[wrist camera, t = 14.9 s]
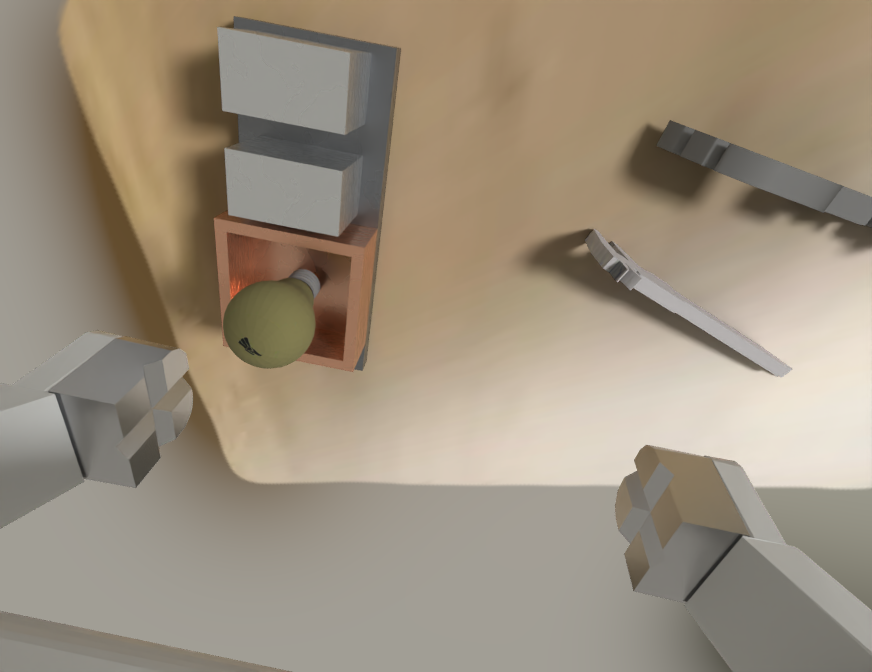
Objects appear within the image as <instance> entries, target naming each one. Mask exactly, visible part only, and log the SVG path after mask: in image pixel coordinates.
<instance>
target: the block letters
mask: <svg viewBox="0 0 872 672" xmlns="http://www.w3.org/2000/svg"><path fill="white" fill-rule="evenodd" d="M656 146H658V147H661V148H663V149H665V150H667V151H670V152H672V153H675V154H677V155H680V156H681V157H684V158H686V159H688V160H691V161H693V162H695V163H698V164H700V165H702V166H705V167H708V168H710V169H713V170H714V171H717V172H719V173H722V174H724V175H726V176H729V177H731V178H734V179H736V180H739V181H741V182H744V183H747V184H749V185H752V186H754V187H757V188H760V189H762V190H765V191H768V192H770V193H773V194H776V195H778V196H781V197H784V198H786V199H789V200H792V201H794V202H797V203H800V204H802V205H805V206H808V207H810V208H813V209H815V210H818V211H820V212H823V213H824V212H827V213H830V214H833V215H835V216H838V217H841V218H843V219H846V220H849V221H851V222H854V223H856V224H859V225H866V226H869V227H871V228H872V197H870V196H868V195H865V194H862V193H860V192H857V191H854V190H852V189H849V188H847V187H844V186H842V185H839V184H836V183H834V182H831V181H828V180H826V179H823V178H821V177H818V176H815V175H813V174H810V173H807V172H805V171H802V170H800V169H797V168H794V167H792V166H789V165H787V164H784V163H781V162H779V161H776V160H773V159H771V158H768V157H766V156H763V155H760V154H758V153H755V152H752V151H750V150H747V149H745V148H742V147H739V146H737V145H734V144H731V143H729V142H726V141H723V140H721V139H718V138H716V137H713V136H710V135H708V134H705V133H702V132H700V131H697V130H694V129H692V128H689V127H686V126H684V125H681V124H679V123H676V122H673V121H671V120H670V121H669V123H668V125H667V127H666V129H665V130H664V132H663V134H662V136H661V138H660V140H659V142H658V143H657V145H656Z"/></svg>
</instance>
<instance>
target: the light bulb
mask: <svg viewBox="0 0 872 672" xmlns="http://www.w3.org/2000/svg"><path fill="white" fill-rule="evenodd" d="M319 291H320V282H319V279H318V278H317V276H316V275H315V274H314V273H312V272H311V271H309V270H306V269H298V270H296V271H294V272H293V273H292V274H291V275H290V276H289V277H288V278H284V279H281V280H279V281H274V280H269V281H260V282H256V283H254V284H251V285H249V286H247V287H245V288H243V289H242V290H240V291H239V292H238V293H237V294H236V295H235V296H234V297H233V298H232V299H231V301H230V302H229V304H228V306H227V308H226V311H225V313H224V318H223V331H224V336H225V339H226V342H227V344H228V346H229V347H230V349H231V350H232V351H233V352H234V354H235V355H236V356H237V357H239V358H240V359H241V360H243V361H244V362H246V363H248V364H250V365H253V366H256V367H260V368H278V367H283V366H285V365H288V364H290V363H292V362H294V361H295V360H297V359H298V358H300V357H301V356H302V355H303V354H304V353H305V351H306V350H307V349H308V347H309V346H310V344H311V342H312V339H313V337H314V332H315V315H314V310H313V305H314V298H315V297H316V296H317V294H318V293H319Z"/></svg>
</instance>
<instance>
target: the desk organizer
mask: <svg viewBox="0 0 872 672" xmlns="http://www.w3.org/2000/svg"><path fill="white" fill-rule="evenodd" d="M217 29H218V46H219V63H220V80H221V97H222V111H226V112H231V113H236V114H238V130H239V143H237V144H235V145H232V146H229V147H226V148H224V149H225V166H226V183H227V200H228V210H227V211H225V212H223V213H221V214H220V215H218V216H216V217H215V218H214V227H215V241H216V254H217V267H218V281H219V294H220V308H221V321H222V334H223V346H226V347H229V346H228V344H227V342H226V339H225V336H224V331H223V318H224V313H225V311H226V308H227V306H228V304H229V302H230V301H231V299H232V298H233V297H234V296H235V295H236V294H237V293H238V292H239V291H240V290H242V289H243V288H245V287H247V286H249V285H251V284H254V283H256V282H260V281H269V280H274V281H279V280H281V279H284V278H288V277H289V276H290V275H291V274H292V273H293V272H294V271H296V270H298V269H306V270H309V271H311V272H312V273H314V274H315V275H316V276H317V278H318V279H319V282H320V291H319V293H318V294H317V296H316V297H315V298H314V305H313V310H314V315H315V332H314V337H313V339H312V342H311V344H310V346H309V347H308V349H307V350H306V351H305V353H304V354H303V355H302V356H301V357H300V358H298V359H297V360H296V361H301V362H306V363H311V364H316V365H321V366H326V367H331V368H336V369H341V370H346V371H351V372H353V371H354V369H356V370H361V371H362V370H363V368H364V366H365V363H366V360H367V351H368V342H369V333H370V324H371V315H372V306H373V297H374V288H375V279H376V270H377V261H378V252H379V243H380V234H381V225H382V216H383V207H384V198H385V189H386V180H387V171H388V162H389V153H390V144H391V135H392V126H393V117H394V108H395V99H396V90H397V81H398V72H399V63H400V54H401V48H396V47H391V46H386V45H381V44H376V43H371V42H366V41H360V40H355V39H350V38H345V37H340V36H335V35H330V34H325V33H320V32H314V31H309V30H304V29H299V28H294V27H289V26H284V25H279V24H274V23H268V22H263V21H258V20H253V19H248V18H242V17H235V16H234V28H224V27H217Z"/></svg>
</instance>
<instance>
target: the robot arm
mask: <svg viewBox="0 0 872 672" xmlns="http://www.w3.org/2000/svg"><path fill="white" fill-rule="evenodd" d="M188 369H189V366H188V360H187V355H186V353H185V352H184V351H182V350H181V349H179V348H175V347H170V346H166V345H162V344H157V343H153V342H149V341H144V340H140V339H136V338H131V337H127V336H120V335H116V334H111V333H107V332H103V331H98V330H97V331H90V332H86V333H85V334H84V335H82V336H80V337H79V338H78V339H76V340H75V341H73V342H72V343H71V344H69V345H68V346H66V347H65V348H63V349H62V350H61V351H59V352H58V353H56V354H55V355H53V356H52V357H51V358H49V359H48V360H46V361H45V362H44V363H42V364H41V365H39V366H38V367H36V368H35V369H34V370H32V371H31V372H29V373H28V374H27V375H25V376H24V377H22V378H21V379H20V380H18V381H17V382H15V383H14V384H12V385H9V384H4V383H0V529H1V528H3V527H4V526H6V525H8V524H10V523H11V522H13V521H15V520H17V519H18V518H20V517H22V516H24V515H26V514H27V513H29V512H31V511H33V510H35V509H36V508H38V507H40V506H42V505H44V504H45V503H47V502H49V501H50V500H52V499H54V498H56V497H58V496H59V495H61V494H63V493H65V492H67V491H69V490H70V489H72V488H74V487H76V486H77V485H79V484H81V483H83V482H84V479H88V480H94V481H100V482H106V483H111V484H116V485H122V486H127V487H133V488H136V487H137V486H138V485H139V484H140V482H141V481H142V480H143V479H144V477H145V476H146V475H147V474H148V473H149V471H150V470H151V469H152V468H153V467H154V465H155V464H156V463H157V462H158V460H159V459H160V448H159V447H160V446H162V445H164V444H166V443H168V442H170V441H173V440H175V439H176V438H177V437H178V436H179V434H180V433H181V432H182V430H183V429H184V428H185V426H186V424H187V421H188V419H189V416H190V414H191V411H192V404H193V395H192V388H191V387H190V386H189V385H188V383H187V382H186V381H185V380H184V379H183V377H182V376H183V375H184V374H185V373H186V371H187V370H188ZM634 461H635V465H636V468H637V471H636V472H634V473H632V474H630V475H628V476H626V477H624V479H623V481H622V483H621V485H620V487H619V489H618V492H617V498H616V504H615V512H616V520H617V525H618V530H619V531H620V533H621V534H622V535H623V536H624V537H625V538H626V540H627V541H628V542H629V543H630V545H629V547H628V548H627V550H626V552H625V553H624V555H625V559H626V563H627V567H628V571H629V575H630V579H631V582H632V587H633V591H635V592H639V593H643V594H648V595H652V596H656V597H660V598H665V599H669V600H673V601H677V602H682V603H686V604H685V605H684V606H685V608H686V609H687V610H688V612H689V613H690V614H691V615H692V617H693V619H694V620H695V621H696V623H697V624H698V625H699V627H700V628H701V629H702V631H703V632H704V633H705V635H706V636H707V637H708V639H709V640H710V642H711V643H712V644H713V646H714V647H715V648H716V650H717V651H718V652H719V654H720V655H721V656H722V658H723V659H724V661H725V662H726V663H727V665H728V666H729V667H730V669H731V670H732V671H733V672H872V610H870V609H869V608H868V607H867V606H866V605H864V604H863V603H862V602H861V601H860V600H859V599H857V598H856V597H855V596H854V595H852V594H851V593H850V592H849V591H848V590H847V589H846V588H844V587H843V586H842V585H841V584H840V583H838V582H837V581H836V580H835V579H834V578H833V577H831V576H830V575H829V574H828V573H826V572H825V571H824V570H823V569H822V568H821V567H820V566H818V565H817V564H816V563H815V562H814V561H812V560H811V559H810V558H809V557H808V556H807V555H805V554H804V553H803V552H802V551H801V550H799V549H798V548H797V547H794V546H790V545H786V543H785V541H784V539H783V538H782V536H781V534H780V533H779V531H778V529H777V527H776V526H775V524H774V522H773V520H772V518H771V517H770V515H769V514H768V511H767V510H766V508H765V506H764V504H763V503H762V501H761V499H760V497H759V496H758V494H757V492H756V490H755V489H754V487H753V485H752V483H751V482H750V480H749V478H748V476H747V475H746V473H745V471H744V469H743V468H742V467H741V466H740V465H739V464H738V463H736V462H735V461H731V460H726V459H720V458H715V457H709V456H700V455H696V454H691V453H686V452H681V451H676V450H671V449H666V448H661V447H656V446H650V445H646V446H644V447H643V448H642V449H641V450H640V451H639V453H638V454H637V456H636V458H635V459H634ZM0 672H291V671H286V670H281V669H276V668H272V667H267V666H262V665H257V664H253V663H248V662H243V661H238V660H233V659H229V658H224V657H219V656H214V655H210V654H205V653H200V652H195V651H190V650H185V649H181V648H176V647H171V646H166V645H161V644H157V643H152V642H147V641H142V640H138V639H133V638H128V637H123V636H119V635H113V634H109V633H104V632H99V631H94V630H90V629H85V628H80V627H75V626H71V625H66V624H61V623H56V622H51V621H46V620H42V619H37V618H32V617H28V616H23V615H17V614H13V613H8V612H4V611H0Z"/></svg>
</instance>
